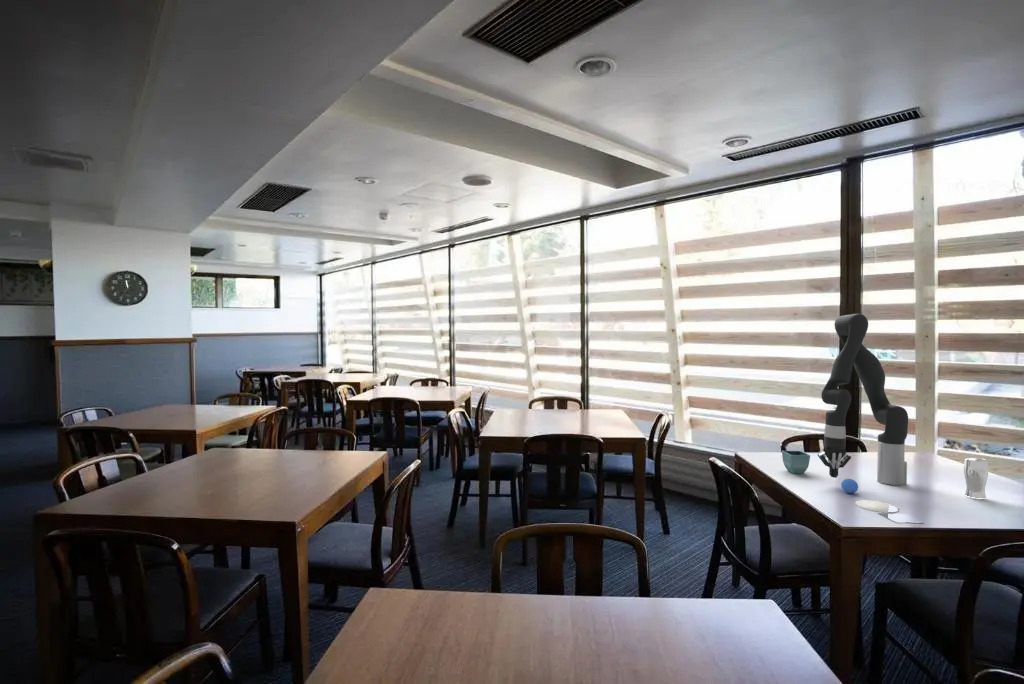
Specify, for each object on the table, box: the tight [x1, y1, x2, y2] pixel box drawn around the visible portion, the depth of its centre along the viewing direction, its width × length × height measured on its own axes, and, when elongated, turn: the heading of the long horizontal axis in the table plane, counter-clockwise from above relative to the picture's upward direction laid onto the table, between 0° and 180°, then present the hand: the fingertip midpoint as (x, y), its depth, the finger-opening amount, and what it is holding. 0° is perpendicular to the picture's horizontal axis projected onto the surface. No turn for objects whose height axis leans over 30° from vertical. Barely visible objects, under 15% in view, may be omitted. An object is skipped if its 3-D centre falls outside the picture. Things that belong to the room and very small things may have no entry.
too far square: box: [877, 512, 888, 519], centre depth 174 cm, size 9×9×1 cm
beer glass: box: [963, 456, 989, 499], centre depth 196 cm, size 7×7×15 cm
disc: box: [855, 499, 893, 513], centre depth 186 cm, size 13×13×1 cm
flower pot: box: [781, 450, 811, 474], centre depth 233 cm, size 9×9×9 cm
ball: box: [841, 478, 859, 494], centre depth 202 cm, size 6×6×6 cm
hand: (833, 477), depth 212 cm, fingers closed
